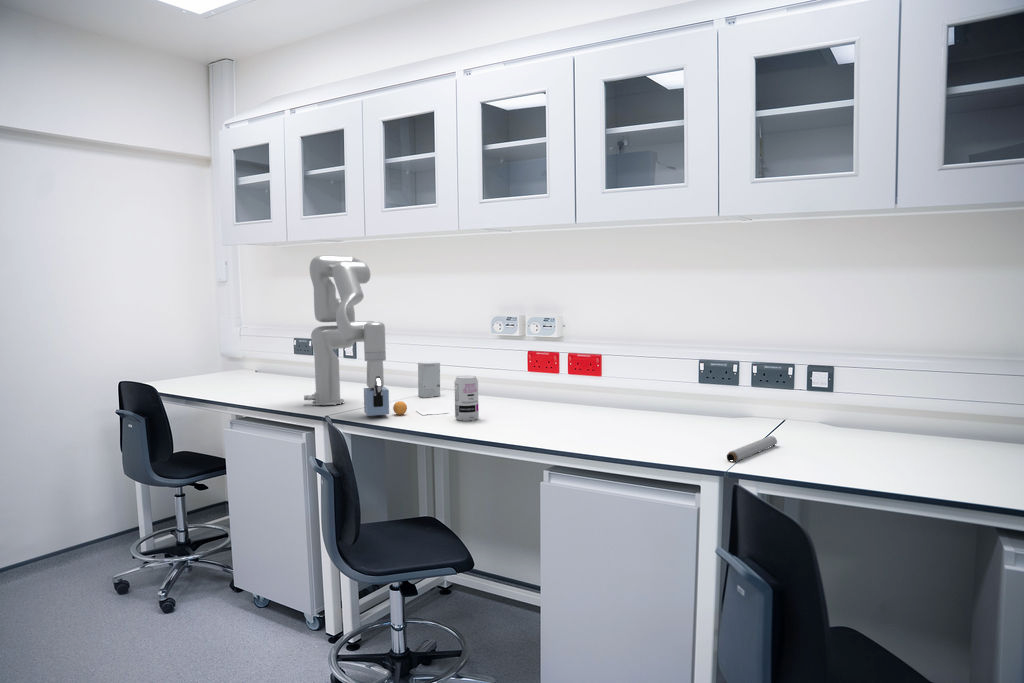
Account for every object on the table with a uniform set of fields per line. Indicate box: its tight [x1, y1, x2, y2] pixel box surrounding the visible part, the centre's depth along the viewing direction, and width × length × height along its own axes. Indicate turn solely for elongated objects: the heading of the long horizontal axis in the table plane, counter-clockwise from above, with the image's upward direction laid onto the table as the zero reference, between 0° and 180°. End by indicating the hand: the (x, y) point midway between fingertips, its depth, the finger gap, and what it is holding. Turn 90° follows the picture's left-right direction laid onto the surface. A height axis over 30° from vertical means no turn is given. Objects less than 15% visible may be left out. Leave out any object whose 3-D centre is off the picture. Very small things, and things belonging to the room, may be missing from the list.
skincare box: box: [417, 361, 441, 399], centre depth 283 cm, size 8×6×15 cm
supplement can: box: [454, 375, 479, 422], centre depth 232 cm, size 8×8×15 cm
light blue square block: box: [363, 386, 390, 417], centre depth 239 cm, size 8×8×9 cm
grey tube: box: [726, 435, 778, 462], centre depth 181 cm, size 3×3×25 cm
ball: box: [392, 400, 408, 416], centre depth 242 cm, size 5×5×5 cm
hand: (376, 404), depth 239 cm, fingers closed on light blue square block, 7 cm apart
